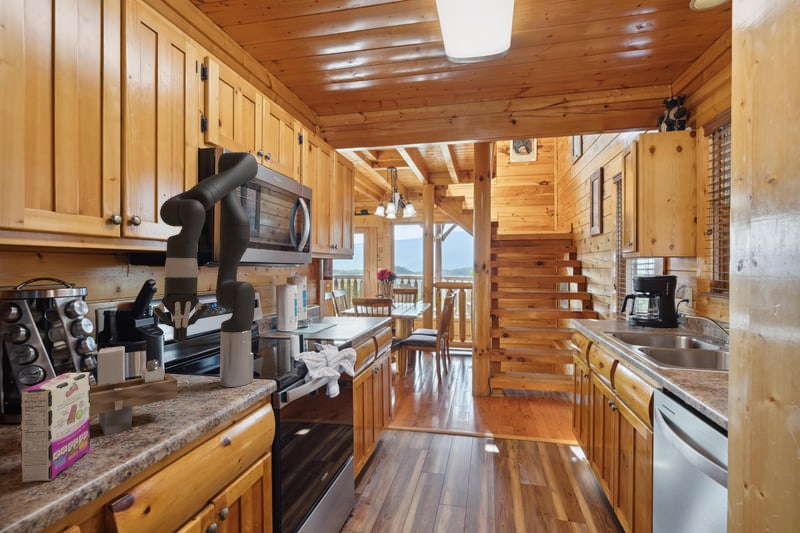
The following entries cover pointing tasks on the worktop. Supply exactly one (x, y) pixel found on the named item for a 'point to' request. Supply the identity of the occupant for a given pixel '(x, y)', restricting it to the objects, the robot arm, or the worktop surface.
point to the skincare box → (111, 365)
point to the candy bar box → (54, 425)
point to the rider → (152, 373)
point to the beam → (127, 400)
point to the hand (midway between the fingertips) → (179, 341)
